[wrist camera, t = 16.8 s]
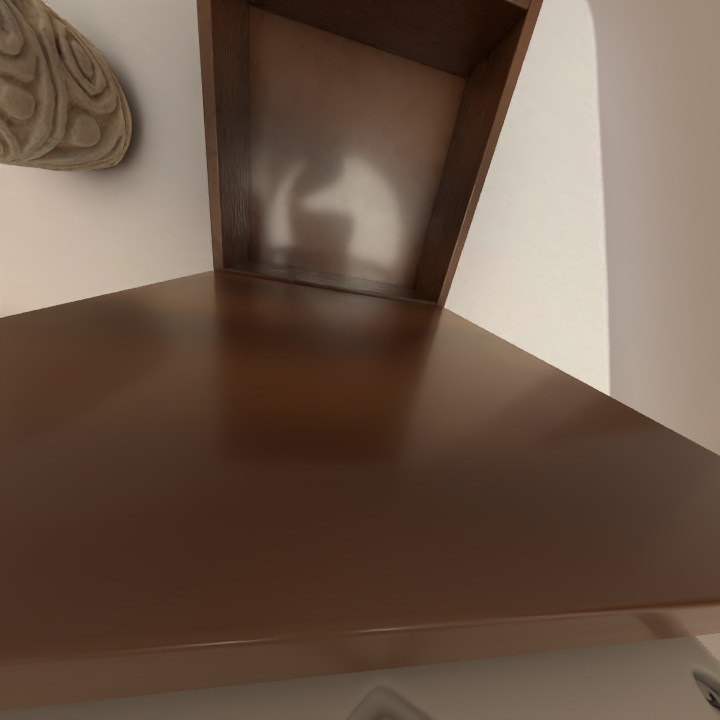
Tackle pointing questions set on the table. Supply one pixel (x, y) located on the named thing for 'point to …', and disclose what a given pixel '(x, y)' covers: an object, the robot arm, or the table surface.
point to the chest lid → (321, 495)
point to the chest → (354, 135)
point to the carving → (56, 94)
